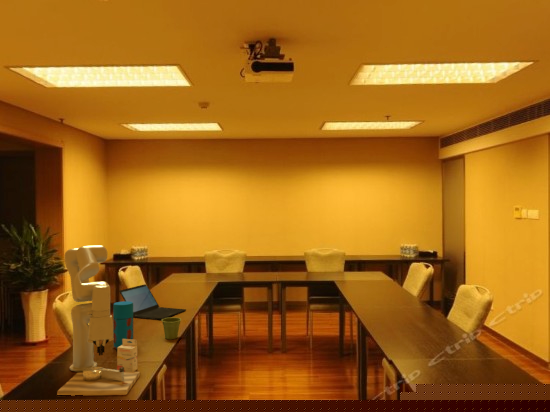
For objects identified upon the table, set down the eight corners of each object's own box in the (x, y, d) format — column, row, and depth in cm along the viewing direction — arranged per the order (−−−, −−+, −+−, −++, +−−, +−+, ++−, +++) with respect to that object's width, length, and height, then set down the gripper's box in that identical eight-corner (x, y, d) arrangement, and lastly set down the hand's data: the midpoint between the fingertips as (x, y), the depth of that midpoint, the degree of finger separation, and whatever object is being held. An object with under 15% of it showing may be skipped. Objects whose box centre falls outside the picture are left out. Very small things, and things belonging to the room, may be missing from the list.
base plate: (77, 376, 218) (77, 372, 218) (139, 375, 219) (139, 371, 219) (57, 395, 196) (57, 390, 196) (126, 394, 197) (126, 389, 197)
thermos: (110, 346, 265) (109, 303, 265) (127, 342, 272) (127, 300, 273) (119, 350, 257) (119, 306, 257) (136, 346, 265) (136, 303, 265)
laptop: (162, 321, 326) (162, 293, 326) (118, 317, 339) (118, 290, 339) (186, 311, 357) (186, 286, 357) (146, 307, 370) (145, 283, 370)
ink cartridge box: (116, 371, 225) (116, 341, 225) (122, 368, 230) (122, 338, 230) (132, 372, 223) (132, 342, 223) (137, 369, 228) (137, 339, 228)
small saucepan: (78, 379, 208) (78, 366, 208) (92, 372, 217) (92, 360, 217) (117, 384, 202) (117, 371, 202) (129, 377, 210) (129, 364, 211)
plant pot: (163, 341, 275) (163, 322, 275) (159, 336, 285) (159, 318, 286) (183, 339, 279) (183, 320, 280) (179, 334, 290) (178, 316, 290)
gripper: (82, 316, 198) (82, 359, 198) (119, 314, 203) (119, 355, 204) (82, 312, 205) (82, 353, 205) (118, 309, 210) (118, 349, 211)
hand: (100, 354), depth 205 cm, fingers closed
